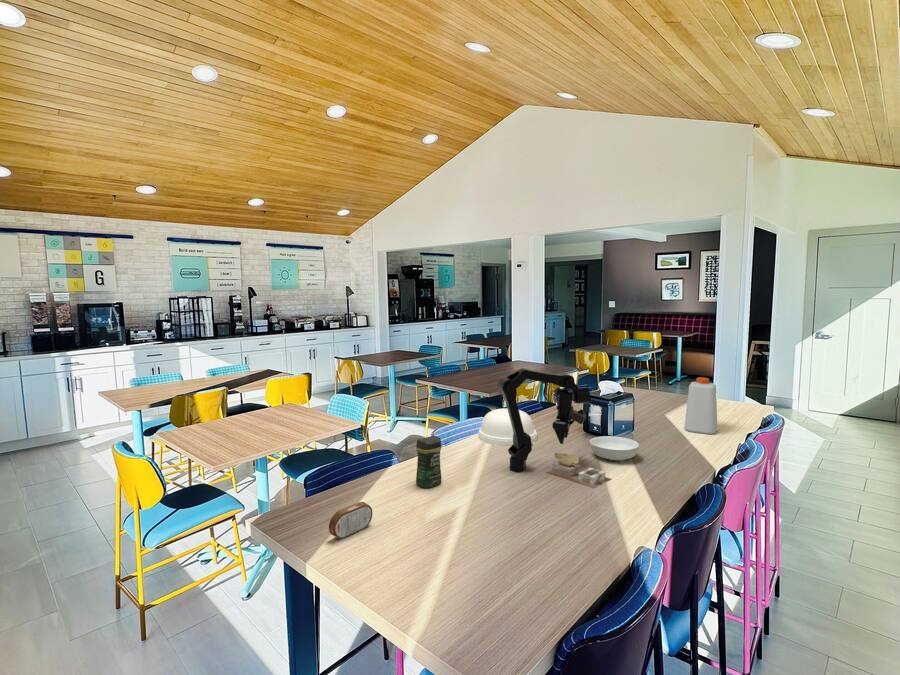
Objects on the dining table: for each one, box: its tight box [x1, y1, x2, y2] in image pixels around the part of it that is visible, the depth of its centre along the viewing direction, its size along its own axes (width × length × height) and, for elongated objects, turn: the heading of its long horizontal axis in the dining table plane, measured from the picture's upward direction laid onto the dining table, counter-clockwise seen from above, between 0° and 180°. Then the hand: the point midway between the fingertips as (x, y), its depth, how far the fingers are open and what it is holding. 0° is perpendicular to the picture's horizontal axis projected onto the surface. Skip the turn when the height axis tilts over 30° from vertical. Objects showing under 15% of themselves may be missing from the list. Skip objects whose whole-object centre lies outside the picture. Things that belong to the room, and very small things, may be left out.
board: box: [545, 460, 613, 489], centre depth 193 cm, size 13×22×4 cm, turn 43°
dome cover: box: [477, 407, 538, 447], centre depth 248 cm, size 32×30×14 cm
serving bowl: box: [589, 435, 640, 461], centre depth 217 cm, size 21×21×7 cm
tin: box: [328, 501, 373, 539], centre depth 150 cm, size 15×3×8 cm, turn 138°
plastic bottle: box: [683, 376, 718, 435], centre depth 258 cm, size 15×15×28 cm
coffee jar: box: [415, 435, 442, 489], centre depth 187 cm, size 10×8×19 cm
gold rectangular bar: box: [554, 451, 580, 468], centre depth 197 cm, size 2×10×7 cm, turn 42°
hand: (563, 440), depth 203 cm, fingers open, 9 cm apart
